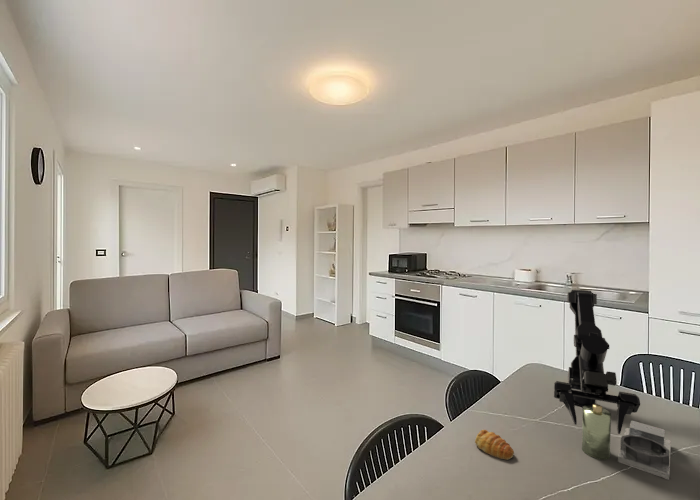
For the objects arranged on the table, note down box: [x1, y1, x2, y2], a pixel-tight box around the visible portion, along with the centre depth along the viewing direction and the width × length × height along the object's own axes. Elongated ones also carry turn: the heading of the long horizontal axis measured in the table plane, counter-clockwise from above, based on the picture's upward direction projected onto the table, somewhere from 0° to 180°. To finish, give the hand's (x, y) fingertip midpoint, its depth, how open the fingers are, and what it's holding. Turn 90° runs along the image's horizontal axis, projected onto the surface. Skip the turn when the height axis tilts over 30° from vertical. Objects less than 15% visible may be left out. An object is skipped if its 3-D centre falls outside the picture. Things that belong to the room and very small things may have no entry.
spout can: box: [581, 403, 612, 461], centre depth 90 cm, size 6×6×13 cm
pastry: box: [474, 429, 515, 461], centre depth 91 cm, size 9×7×4 cm
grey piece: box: [617, 420, 672, 481], centre depth 89 cm, size 9×18×4 cm, turn 136°
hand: (596, 428), depth 89 cm, fingers open, 9 cm apart
